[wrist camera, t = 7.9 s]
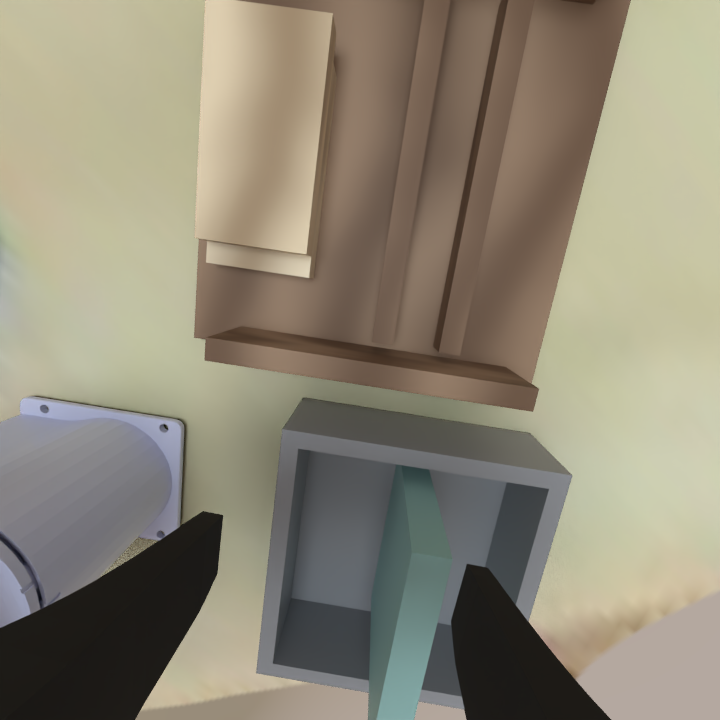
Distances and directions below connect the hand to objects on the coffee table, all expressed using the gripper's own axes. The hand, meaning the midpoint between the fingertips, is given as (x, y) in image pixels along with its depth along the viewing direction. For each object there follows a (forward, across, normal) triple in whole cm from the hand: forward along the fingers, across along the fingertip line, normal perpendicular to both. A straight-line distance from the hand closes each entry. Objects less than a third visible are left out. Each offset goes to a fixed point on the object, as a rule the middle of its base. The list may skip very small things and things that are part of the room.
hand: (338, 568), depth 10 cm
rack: (+10, 0, -13) cm, 16 cm away
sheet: (+10, -3, +6) cm, 12 cm away
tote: (+10, -3, +6) cm, 12 cm away
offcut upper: (+8, +6, -13) cm, 17 cm away
